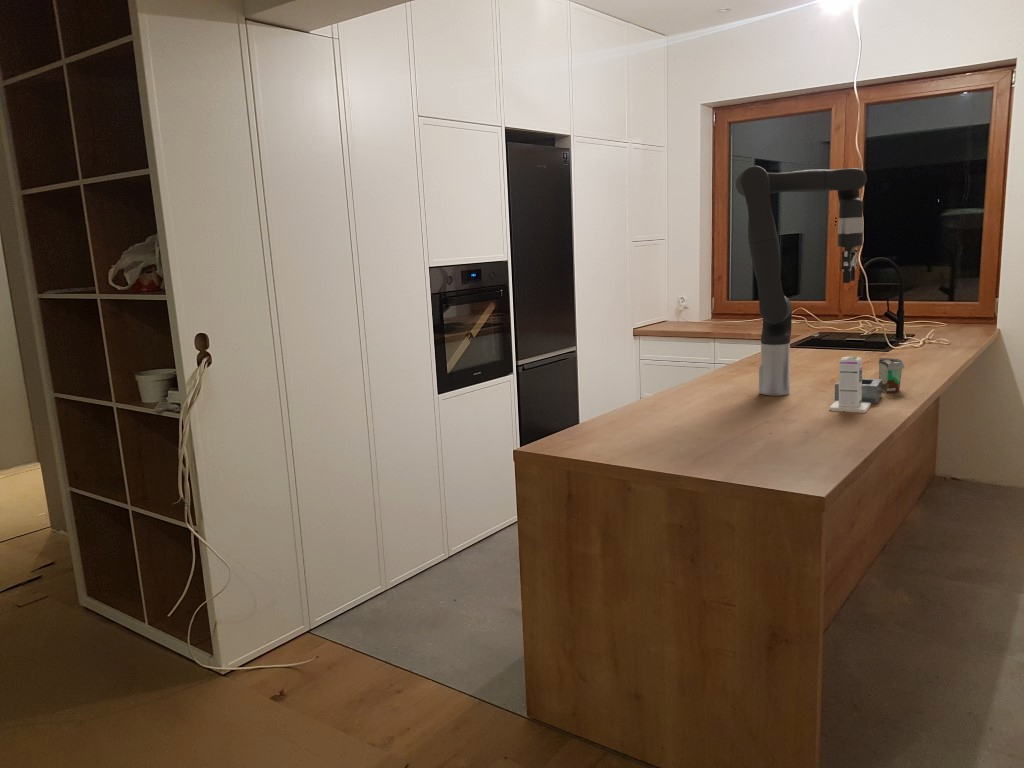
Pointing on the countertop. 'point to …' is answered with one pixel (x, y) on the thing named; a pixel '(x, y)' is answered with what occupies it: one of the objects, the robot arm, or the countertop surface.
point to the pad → (860, 409)
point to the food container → (890, 374)
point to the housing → (866, 390)
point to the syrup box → (850, 381)
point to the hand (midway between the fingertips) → (849, 281)
